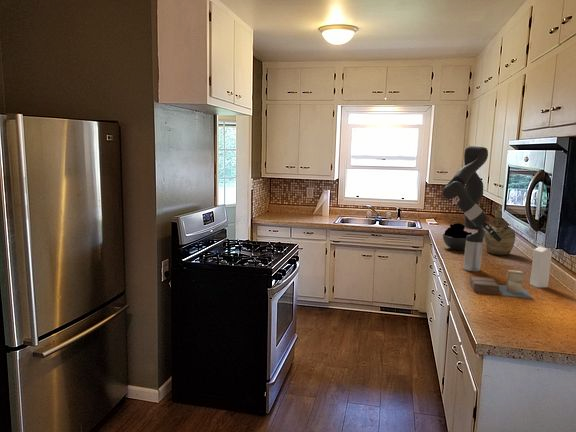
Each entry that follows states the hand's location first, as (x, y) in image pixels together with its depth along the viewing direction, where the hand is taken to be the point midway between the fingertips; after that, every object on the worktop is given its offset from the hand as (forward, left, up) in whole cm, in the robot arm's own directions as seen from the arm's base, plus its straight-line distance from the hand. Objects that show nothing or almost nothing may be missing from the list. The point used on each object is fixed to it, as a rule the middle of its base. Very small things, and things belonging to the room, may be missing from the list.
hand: (498, 239), depth 218 cm
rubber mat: (0, +10, -26) cm, 28 cm away
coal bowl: (-96, -6, -26) cm, 99 cm away
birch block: (0, +10, -25) cm, 27 cm away
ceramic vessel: (-94, +21, -26) cm, 100 cm away
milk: (-17, +26, -26) cm, 40 cm away
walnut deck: (0, -4, -26) cm, 26 cm away
